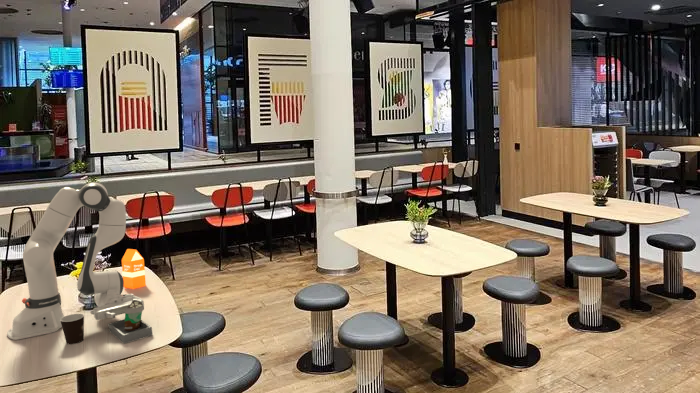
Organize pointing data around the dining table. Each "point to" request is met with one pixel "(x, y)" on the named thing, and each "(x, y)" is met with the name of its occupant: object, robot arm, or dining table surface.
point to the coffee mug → (73, 328)
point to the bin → (129, 336)
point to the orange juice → (133, 269)
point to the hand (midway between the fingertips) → (125, 313)
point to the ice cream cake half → (133, 315)
